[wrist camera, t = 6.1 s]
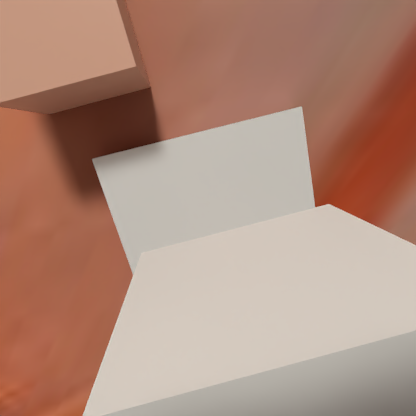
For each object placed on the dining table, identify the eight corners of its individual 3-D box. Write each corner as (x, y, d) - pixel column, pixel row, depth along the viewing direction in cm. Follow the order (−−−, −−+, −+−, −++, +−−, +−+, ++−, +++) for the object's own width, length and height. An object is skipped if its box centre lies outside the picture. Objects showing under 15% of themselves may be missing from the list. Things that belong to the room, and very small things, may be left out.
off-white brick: (328, 203, 8) (530, 300, 3) (346, 354, 10) (498, 559, 5) (141, 253, 8) (80, 421, 3) (190, 396, 10) (197, 646, 5)
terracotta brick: (115, -35, 14) (78, -125, 9) (150, 87, 15) (136, 66, 11) (2, -5, 14) (-97, -81, 9) (50, 114, 15) (-11, 105, 11)
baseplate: (291, 108, 16) (301, 106, 15) (315, 277, 20) (325, 288, 18) (99, 156, 16) (91, 158, 15) (156, 319, 19) (154, 334, 18)
